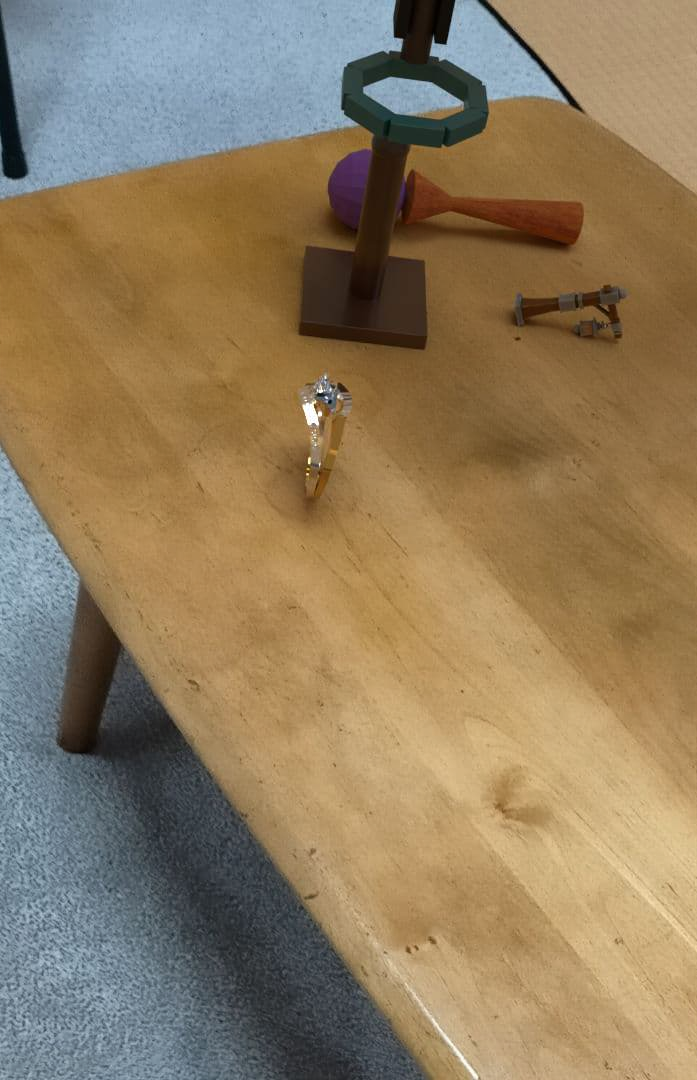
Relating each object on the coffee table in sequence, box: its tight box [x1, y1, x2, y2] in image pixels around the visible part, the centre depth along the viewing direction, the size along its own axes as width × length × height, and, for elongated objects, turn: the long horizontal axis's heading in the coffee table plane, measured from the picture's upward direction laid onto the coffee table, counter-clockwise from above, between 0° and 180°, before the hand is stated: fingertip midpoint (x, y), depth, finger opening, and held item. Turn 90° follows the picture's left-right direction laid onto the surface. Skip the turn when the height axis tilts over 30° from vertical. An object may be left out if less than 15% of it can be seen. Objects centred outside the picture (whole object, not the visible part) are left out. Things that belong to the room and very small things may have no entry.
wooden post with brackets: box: [513, 284, 629, 340], centre depth 91 cm, size 2×8×4 cm, turn 79°
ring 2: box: [340, 0, 490, 149], centre depth 71 cm, size 9×9×11 cm
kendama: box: [327, 148, 585, 246], centre depth 96 cm, size 6×6×20 cm
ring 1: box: [298, 371, 354, 500], centre depth 75 cm, size 7×3×8 cm, turn 176°
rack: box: [298, 133, 428, 350], centre depth 85 cm, size 9×9×14 cm
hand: (419, 30), depth 76 cm, fingers closed on ring 2, 2 cm apart
